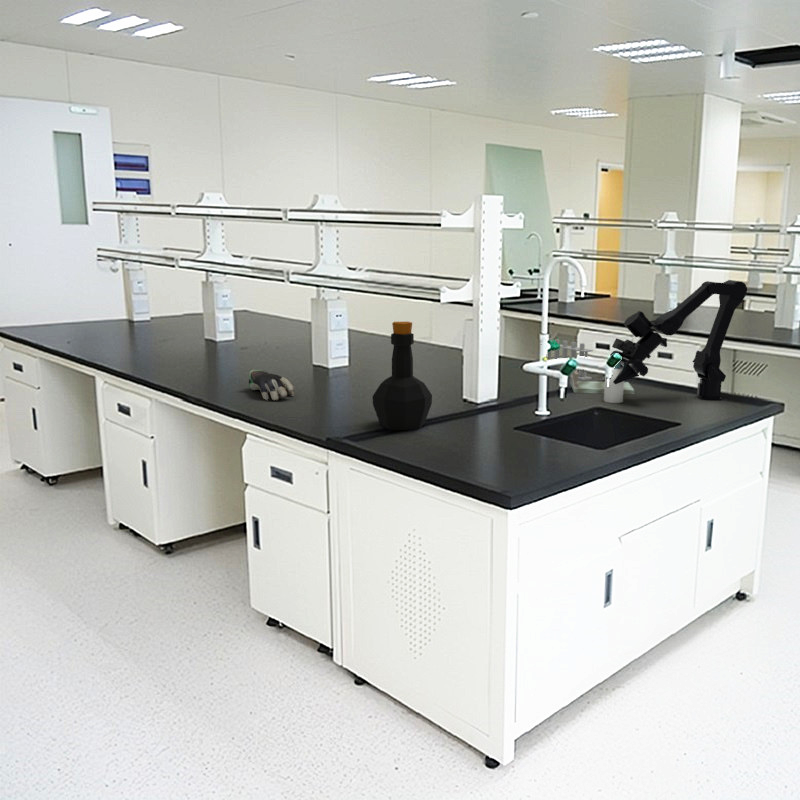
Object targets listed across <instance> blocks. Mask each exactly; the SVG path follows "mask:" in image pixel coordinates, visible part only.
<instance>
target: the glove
mask: <svg viewBox="0 0 800 800" xmlns="http://www.w3.org/2000/svg"><path fill="white" fill-rule="evenodd" d="M248 377H249V378H248V379H249V380H248V388H249V389H250V390H251V391H253V390H260V393H261V396H262V398H263V400H264V399H269V400H270V397H271V400H273V401H275V400H276V401H279V398H280V397H279V395H280V396H281V397H282V398H286V397H287V396H290V395H294V396H295V392H294V391H295V387H294V385H293V384H292V383H291V381H290V380H288V379H287V378H286V377H283V376H280V375H278V374H275V373H269V372H268V371H264V370H261V369H258V370H257V369H252V370H250V372H249V374H248ZM269 394H270V396H269Z"/></svg>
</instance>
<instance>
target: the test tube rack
mask: <svg viewBox="0 0 800 800" xmlns="http://www.w3.org/2000/svg"><path fill="white" fill-rule="evenodd" d="M548 338H549V339H550V340H553V339H552V337H548ZM555 341H556V342H557V343H558V344H560V338H557V339H556V338H555V340H554V342H555ZM540 343H541V342H538V344H539V345H541V344H540ZM568 344H569V343H568V340H563V341H562V344H560V346H561V348H560V349H562V358H567V359H568V350H569V351H570V359H571V358H572V357H575V358H576V355H577V354H576V353H577V352H579V354H578V355H579V356H584V358H585V357H587V358H588V355H589V354H588V353H589V352H594V350H593V349H588V348H585V346H586V345H585V343H579V347H577V342H576V341H572V342H571V343H570V344H571V345H568ZM560 349H559V350H557V351H555V350H554V359H557V358H559V359H560ZM579 356H578V357H579ZM548 357H549V359H551V360H552V350H551V351H550V352H549V356H548ZM578 374H579V378H578V380H579V381H587V380H588V381H589V380H592V379H593V377H592V376H588V375H587V371H586V372H585V371H584V370H583V371H580V370H579V369H578ZM569 378H571V376H570V377H569Z"/></svg>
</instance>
